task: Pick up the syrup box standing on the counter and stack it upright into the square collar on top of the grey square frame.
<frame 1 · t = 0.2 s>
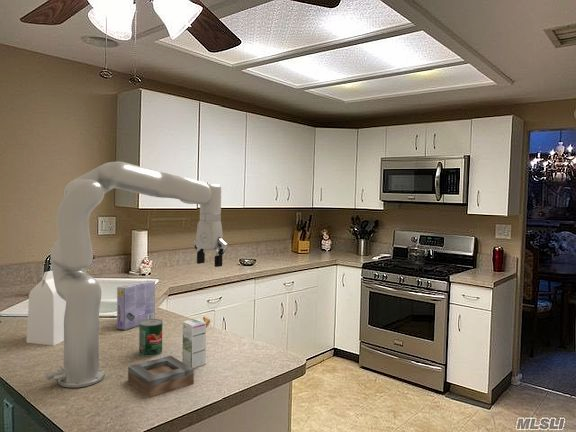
hand: (209, 264, 161), 31 cm above the counter, tool pointing down, fingers open, 9 cm apart
syrup box: (193, 364, 147), on the counter
figurine: (201, 349, 161), on the counter
canned tomato: (150, 353, 156), on the counter
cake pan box: (137, 324, 189), on the counter
grey square frame: (160, 382, 132), on the counter
milk: (51, 339, 168), on the counter
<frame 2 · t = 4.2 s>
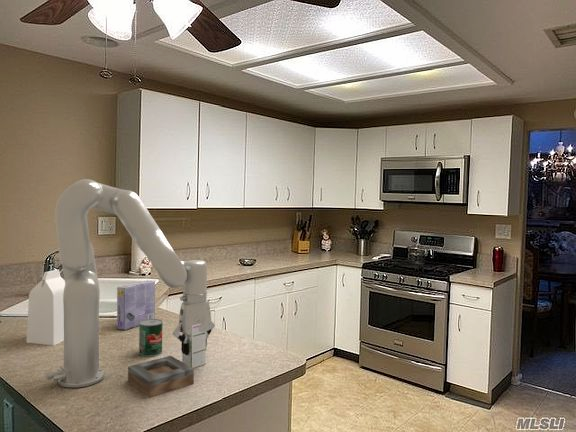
hand: (194, 351, 146), 4 cm above the counter, tool pointing down, fingers closed on syrup box, 5 cm apart
syrup box: (193, 364, 147), on the counter, touching gripper
everything else where it was.
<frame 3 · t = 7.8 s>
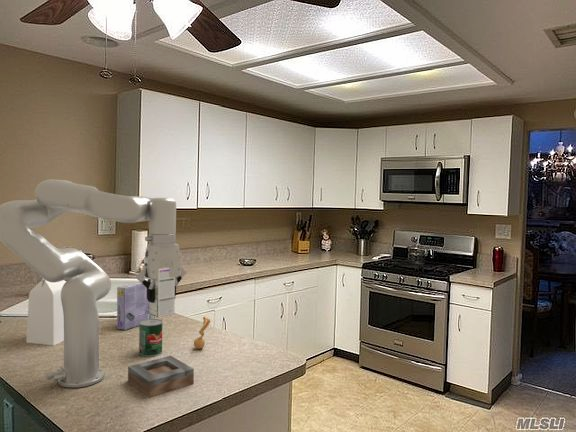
hand: (161, 299, 131), 25 cm above the counter, tool pointing down, fingers closed on syrup box, 5 cm apart
syrup box: (161, 315, 131), point 20 cm above the counter, touching gripper
everything else where it was.
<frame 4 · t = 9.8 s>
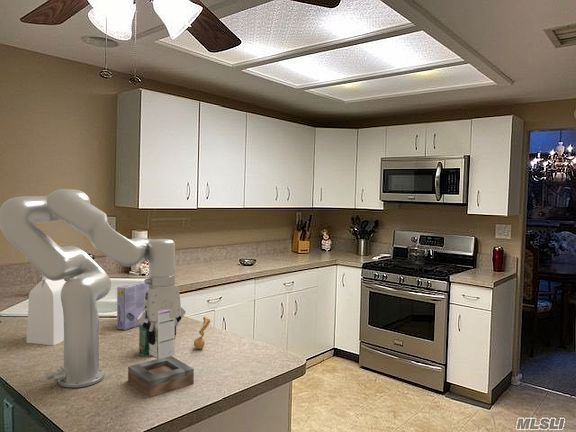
hand: (161, 340, 131), 13 cm above the counter, tool pointing down, fingers closed on syrup box, 5 cm apart
syrup box: (161, 355, 131), point 8 cm above the counter, touching gripper
everything else where it was.
when the fingers open (8 cm above the counter, at t = 11.6 s): syrup box stays where it is, resting on grey square frame.
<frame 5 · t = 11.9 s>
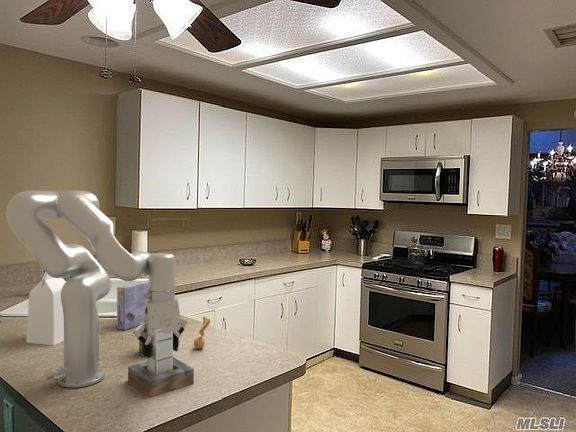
hand: (161, 353, 132), 9 cm above the counter, tool pointing down, fingers open, 8 cm apart
syrup box: (159, 373, 132), point 3 cm above the counter, touching grey square frame
everything else where it was.
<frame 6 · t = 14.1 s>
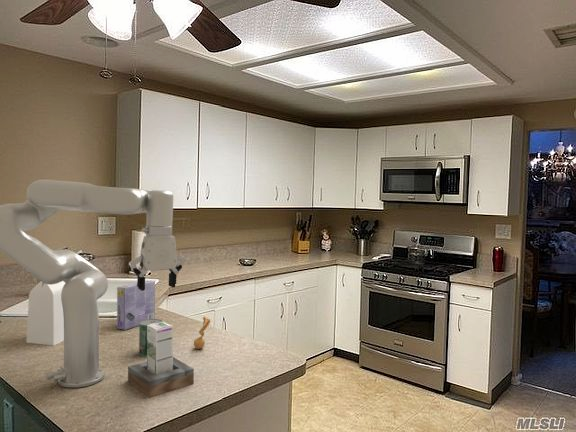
hand: (157, 288, 133), 28 cm above the counter, tool pointing down, fingers open, 9 cm apart
nothing on the counter moved.
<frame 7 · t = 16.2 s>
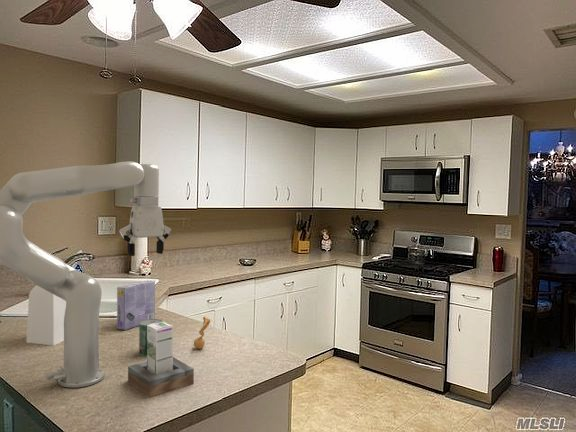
hand: (145, 254, 145), 36 cm above the counter, tool pointing down, fingers open, 9 cm apart
nothing on the counter moved.
at the end: syrup box 0.3 cm off-centre on the grey square frame, point 2.8 cm above the grey square frame's base; syrup box tilted 0°; the gripper is holding nothing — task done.
